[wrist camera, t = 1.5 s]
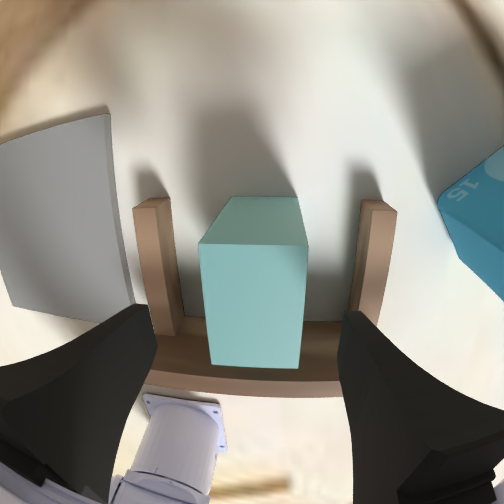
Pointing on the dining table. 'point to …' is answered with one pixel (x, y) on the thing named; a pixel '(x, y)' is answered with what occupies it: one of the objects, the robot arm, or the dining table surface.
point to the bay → (194, 328)
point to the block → (255, 282)
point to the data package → (479, 220)
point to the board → (63, 222)
